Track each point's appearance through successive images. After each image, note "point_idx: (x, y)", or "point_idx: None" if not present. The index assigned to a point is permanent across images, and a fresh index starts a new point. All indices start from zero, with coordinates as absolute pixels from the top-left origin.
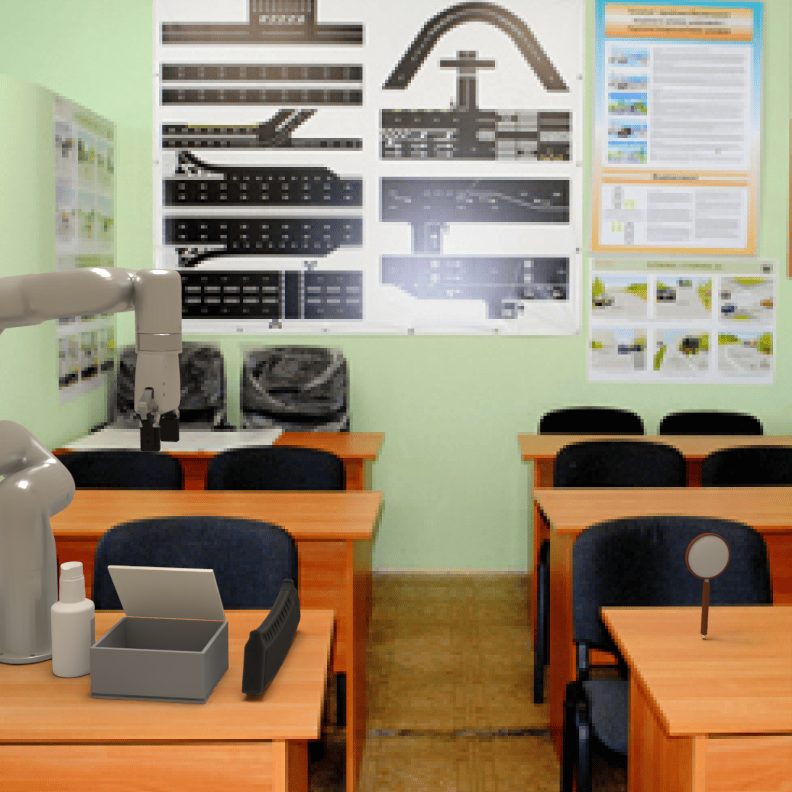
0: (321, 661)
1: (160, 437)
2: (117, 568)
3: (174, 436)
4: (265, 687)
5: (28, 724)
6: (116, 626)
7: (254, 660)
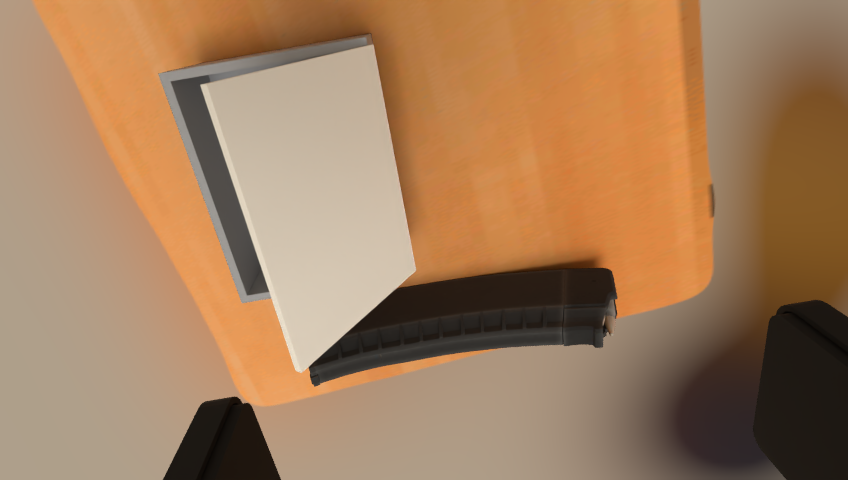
0: (473, 353)
1: (813, 319)
2: (212, 118)
3: (787, 455)
4: None
5: (55, 11)
6: (300, 58)
7: None
